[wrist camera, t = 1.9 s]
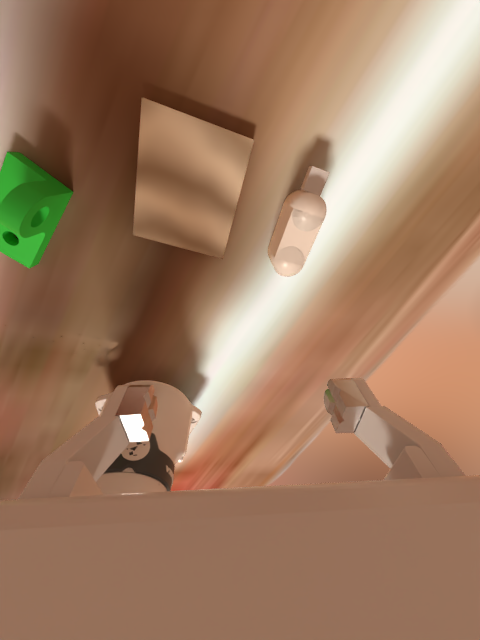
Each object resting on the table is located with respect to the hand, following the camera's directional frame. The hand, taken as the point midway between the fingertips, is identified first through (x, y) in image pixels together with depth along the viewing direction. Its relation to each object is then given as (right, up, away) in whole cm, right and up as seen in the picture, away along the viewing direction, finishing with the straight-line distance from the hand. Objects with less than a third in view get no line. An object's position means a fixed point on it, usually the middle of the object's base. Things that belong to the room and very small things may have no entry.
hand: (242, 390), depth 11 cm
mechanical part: (-27, +17, +20) cm, 37 cm away
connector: (+7, +17, +22) cm, 28 cm away
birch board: (-6, +20, +19) cm, 28 cm away
